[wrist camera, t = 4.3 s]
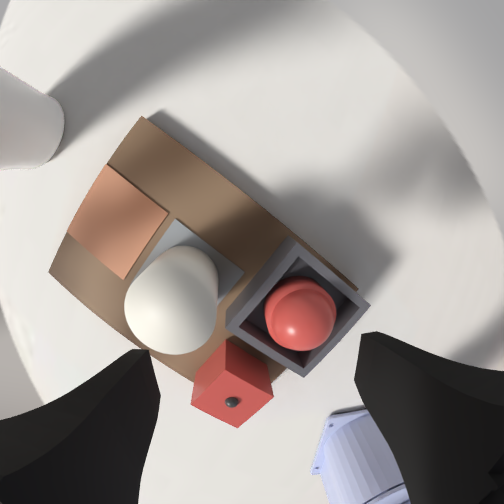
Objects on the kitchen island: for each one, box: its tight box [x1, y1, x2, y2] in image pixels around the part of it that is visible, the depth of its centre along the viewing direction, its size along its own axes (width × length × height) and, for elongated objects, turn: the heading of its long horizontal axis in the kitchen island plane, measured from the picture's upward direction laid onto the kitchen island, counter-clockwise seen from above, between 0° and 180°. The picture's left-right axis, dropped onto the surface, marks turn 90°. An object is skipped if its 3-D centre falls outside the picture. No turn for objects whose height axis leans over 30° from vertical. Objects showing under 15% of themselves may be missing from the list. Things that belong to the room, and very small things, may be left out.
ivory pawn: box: [124, 246, 219, 355], centre depth 14 cm, size 4×4×5 cm
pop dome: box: [263, 276, 336, 351], centre depth 15 cm, size 4×4×3 cm
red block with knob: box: [191, 339, 274, 428], centre depth 16 cm, size 3×3×4 cm
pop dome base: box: [225, 235, 371, 377], centre depth 16 cm, size 6×6×2 cm
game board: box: [49, 116, 358, 383], centre depth 17 cm, size 17×12×1 cm
